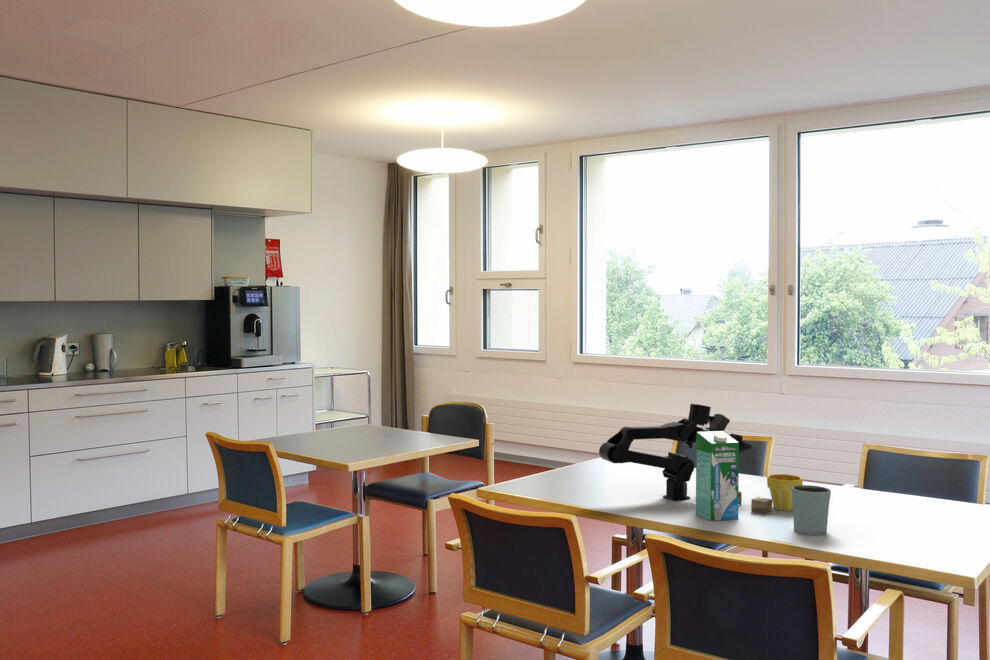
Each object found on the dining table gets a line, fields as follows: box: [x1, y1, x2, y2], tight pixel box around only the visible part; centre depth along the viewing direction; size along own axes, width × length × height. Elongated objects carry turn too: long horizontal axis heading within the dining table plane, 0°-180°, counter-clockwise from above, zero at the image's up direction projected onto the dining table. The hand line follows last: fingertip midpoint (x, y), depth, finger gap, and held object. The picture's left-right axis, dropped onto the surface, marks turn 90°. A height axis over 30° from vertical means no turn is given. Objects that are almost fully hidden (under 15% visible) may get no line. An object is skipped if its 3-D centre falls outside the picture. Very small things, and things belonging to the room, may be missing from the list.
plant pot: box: [766, 473, 804, 511], centre depth 253 cm, size 10×10×10 cm
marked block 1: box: [738, 490, 743, 505], centre depth 260 cm, size 4×4×4 cm
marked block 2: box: [750, 496, 773, 515], centre depth 248 cm, size 4×4×4 cm
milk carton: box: [695, 431, 740, 522], centre depth 242 cm, size 9×9×25 cm
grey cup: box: [791, 484, 832, 536], centre depth 225 cm, size 10×10×12 cm
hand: (742, 444), depth 275 cm, fingers open, 9 cm apart
